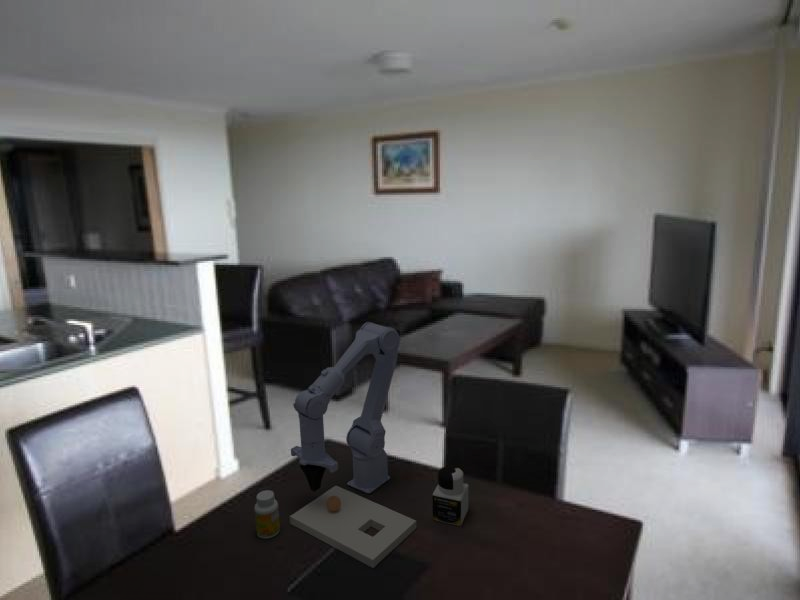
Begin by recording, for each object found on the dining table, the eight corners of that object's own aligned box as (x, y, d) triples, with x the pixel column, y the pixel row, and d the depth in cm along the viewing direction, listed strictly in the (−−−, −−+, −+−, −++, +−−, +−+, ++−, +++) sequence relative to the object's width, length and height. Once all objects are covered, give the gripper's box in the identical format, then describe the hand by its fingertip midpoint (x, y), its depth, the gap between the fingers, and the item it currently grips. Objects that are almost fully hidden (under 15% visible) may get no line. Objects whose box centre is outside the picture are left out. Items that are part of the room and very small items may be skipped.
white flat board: (290, 523, 125) (289, 516, 124) (336, 492, 137) (335, 485, 137) (373, 568, 109) (372, 560, 109) (416, 528, 122) (416, 520, 121)
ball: (333, 503, 129) (333, 491, 128) (344, 508, 127) (343, 495, 126) (323, 510, 126) (323, 498, 125) (334, 515, 124) (333, 502, 123)
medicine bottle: (432, 520, 125) (431, 475, 122) (441, 503, 131) (440, 460, 129) (461, 526, 122) (461, 481, 119) (468, 509, 128) (468, 465, 126)
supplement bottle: (251, 535, 121) (248, 498, 119) (267, 522, 126) (264, 486, 123) (269, 542, 118) (266, 504, 116) (284, 528, 123) (281, 491, 121)
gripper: (280, 437, 127) (283, 486, 130) (321, 453, 119) (324, 506, 122) (301, 426, 133) (304, 474, 136) (342, 441, 124) (345, 492, 127)
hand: (315, 488), depth 129 cm, fingers closed
